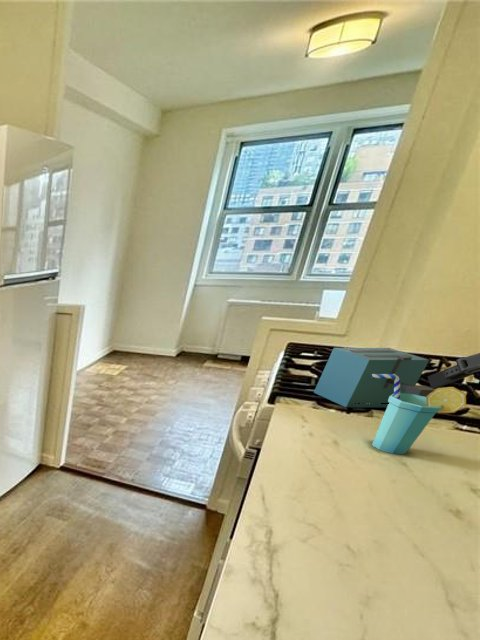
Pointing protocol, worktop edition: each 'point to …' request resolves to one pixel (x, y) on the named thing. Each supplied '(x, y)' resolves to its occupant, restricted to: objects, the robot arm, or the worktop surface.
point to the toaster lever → (414, 389)
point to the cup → (412, 415)
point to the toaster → (366, 375)
